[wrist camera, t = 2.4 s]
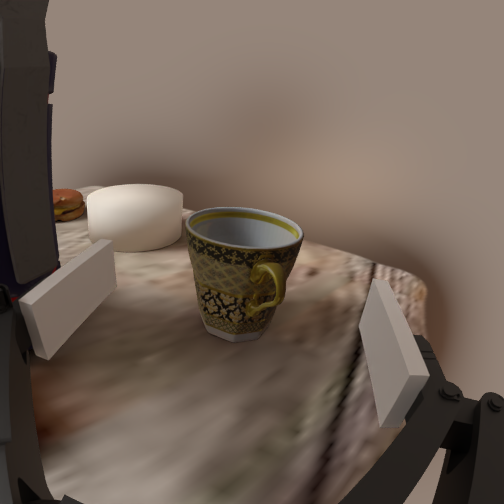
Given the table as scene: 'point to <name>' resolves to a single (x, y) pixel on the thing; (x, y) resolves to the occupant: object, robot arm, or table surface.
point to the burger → (67, 204)
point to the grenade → (26, 147)
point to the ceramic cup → (240, 267)
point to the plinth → (135, 216)
